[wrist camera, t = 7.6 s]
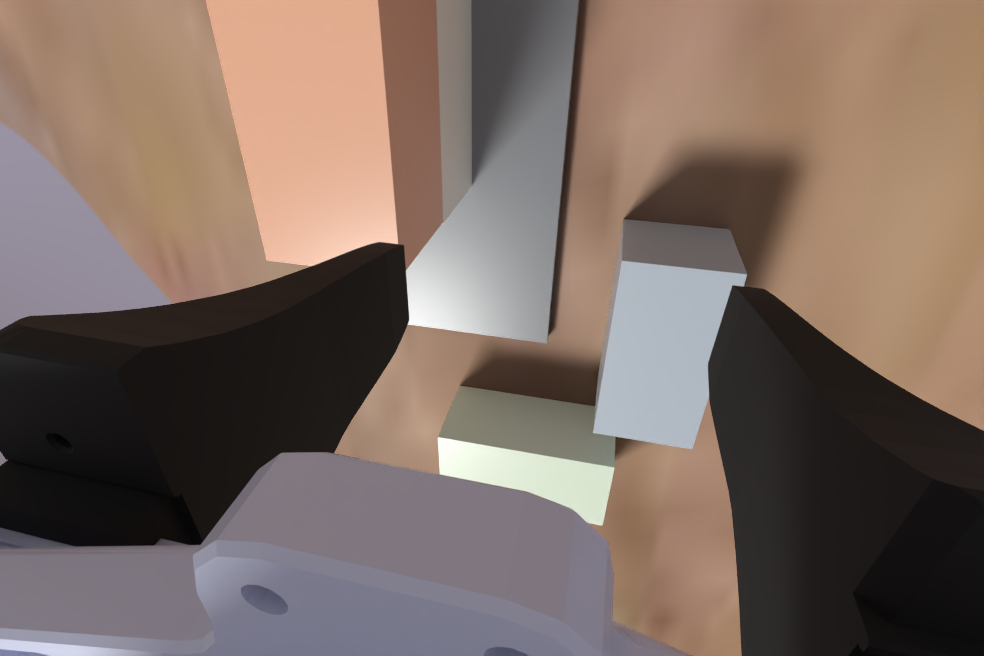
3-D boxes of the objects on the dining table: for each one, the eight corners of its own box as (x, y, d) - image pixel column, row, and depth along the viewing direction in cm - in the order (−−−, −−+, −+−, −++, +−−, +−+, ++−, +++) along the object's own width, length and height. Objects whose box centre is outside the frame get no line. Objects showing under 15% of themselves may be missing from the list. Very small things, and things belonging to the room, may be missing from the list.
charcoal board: (207, -387, 15) (192, -400, 14) (620, -430, 13) (619, -446, 12) (329, 306, 27) (323, 312, 26) (548, 336, 25) (546, 343, 24)
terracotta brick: (287, -82, 14) (182, -101, 11) (433, -81, 13) (369, -100, 10) (331, 210, 18) (266, 260, 15) (443, 221, 18) (400, 277, 14)
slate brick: (623, 217, 21) (621, 260, 18) (728, 227, 21) (747, 274, 17) (597, 374, 26) (593, 432, 22) (684, 387, 25) (691, 449, 22)
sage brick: (461, 438, 30) (440, 494, 27) (460, 383, 28) (437, 437, 25) (605, 463, 29) (602, 525, 25) (616, 407, 27) (614, 467, 23)
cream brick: (351, -68, 17) (286, -78, 14) (471, -66, 17) (432, -77, 13) (376, 177, 22) (331, 212, 18) (471, 185, 21) (442, 224, 18)
